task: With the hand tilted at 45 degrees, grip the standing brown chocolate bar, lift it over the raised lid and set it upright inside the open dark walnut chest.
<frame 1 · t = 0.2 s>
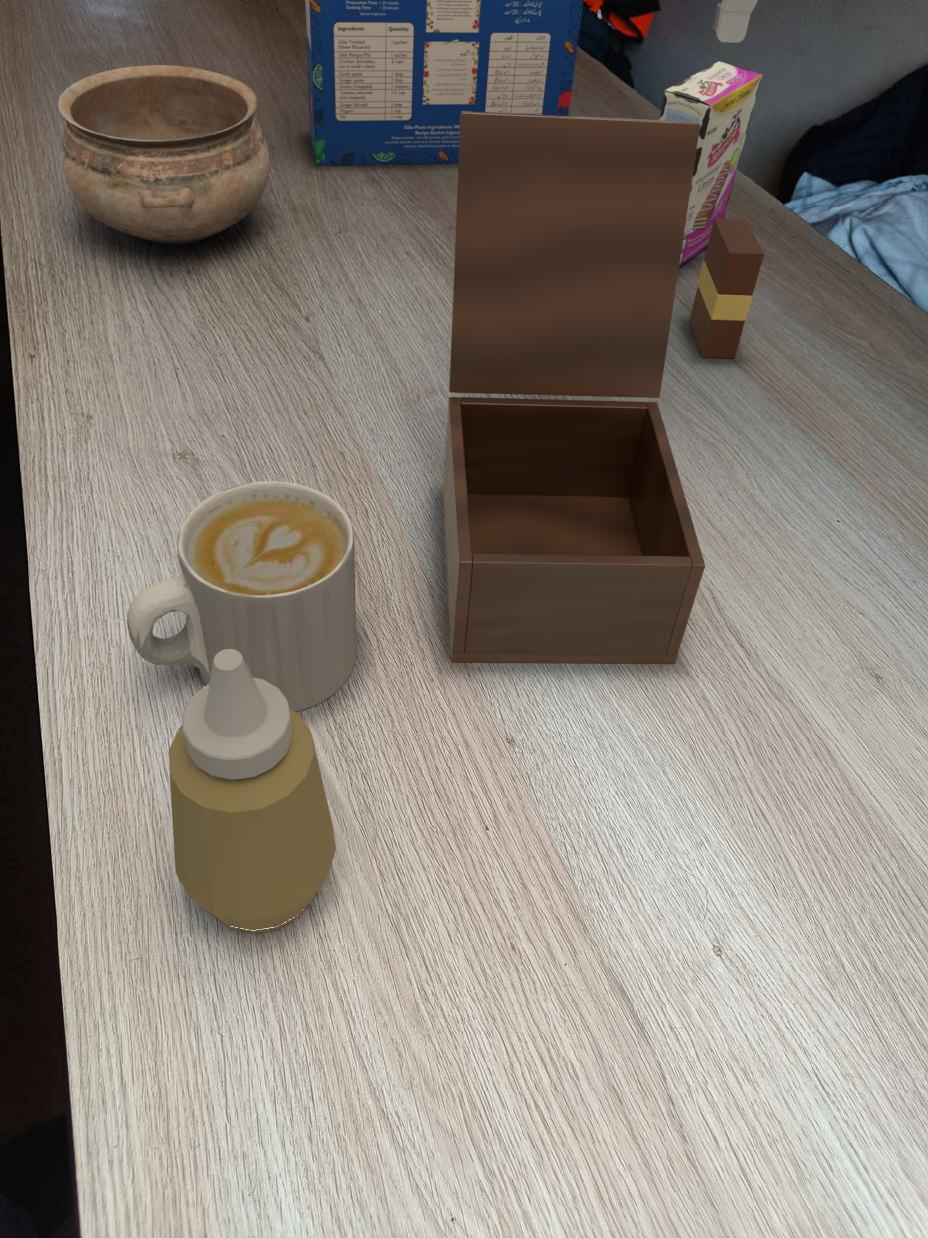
hand: (710, 12, 70), 29 cm above the worktop, tool pointing down, fingers open, 8 cm apart
candy bar box: (676, 251, 109), on the worktop
cooking pot: (177, 231, 105), on the worktop
squeeze bottle: (261, 885, 57), on the worktop
chest: (550, 573, 74), on the worktop
coffee mug: (250, 659, 67), on the worktop
chest lid: (562, 257, 71), point 17 cm above the worktop, hinge at 105.0°
chocolate bar: (711, 339, 97), on the worktop
pasta box: (436, 150, 122), on the worktop
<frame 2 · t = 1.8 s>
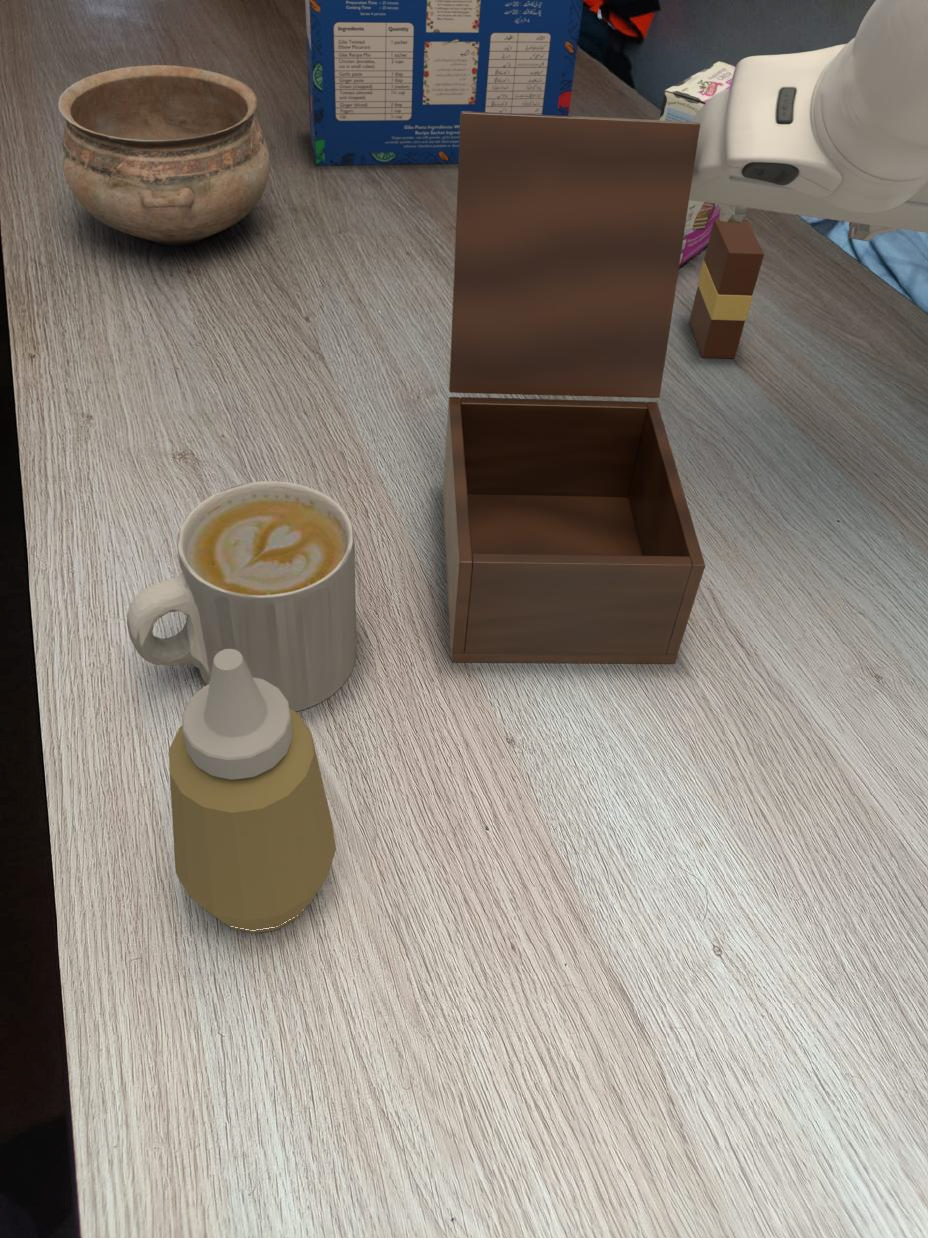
hand: (794, 221, 77), 17 cm above the worktop, tool tilted 40°, fingers open, 8 cm apart
nothing on the worktop moved.
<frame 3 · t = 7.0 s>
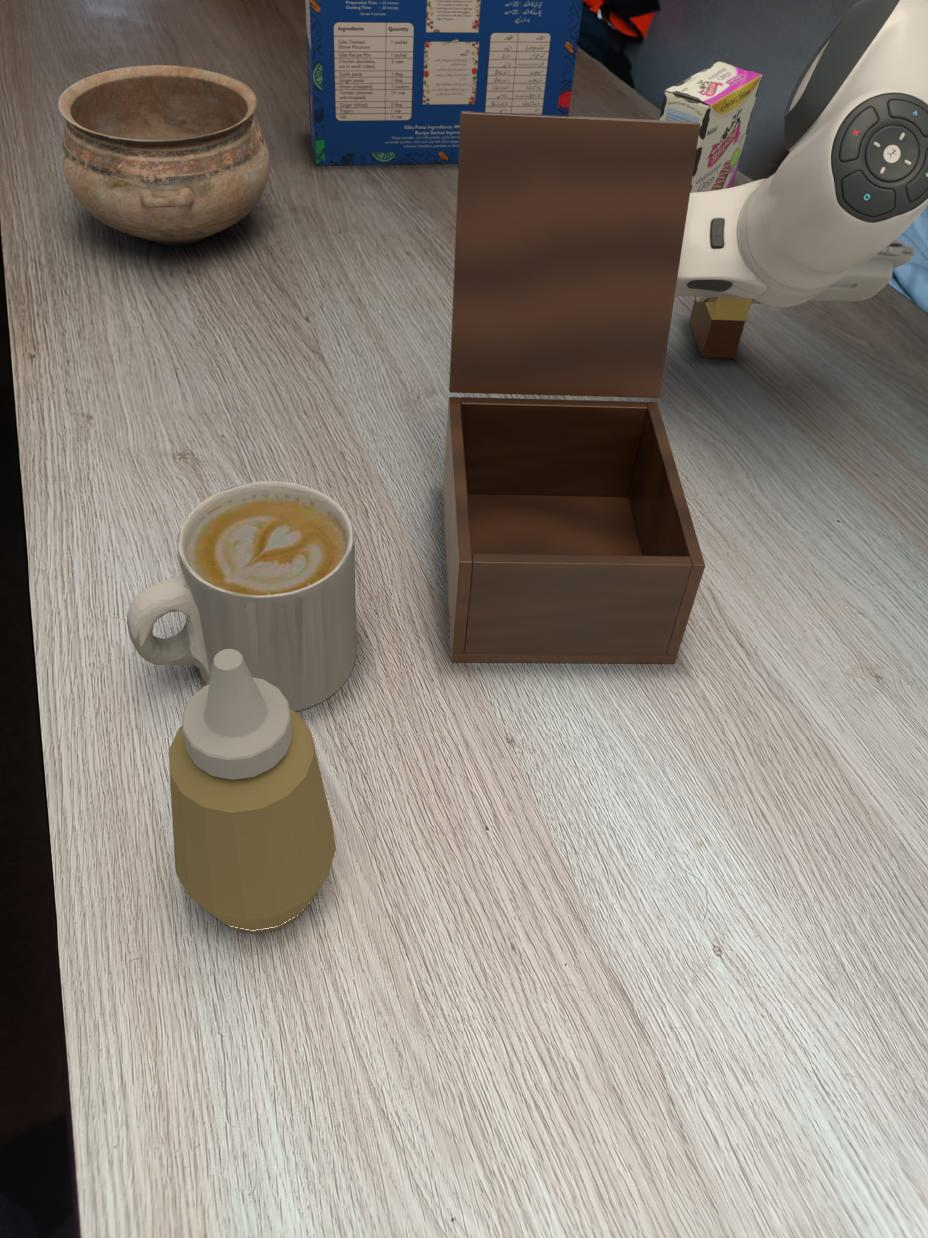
hand: (728, 293, 92), 5 cm above the worktop, tool tilted 45°, fingers closed on chocolate bar, 3 cm apart
chocolate bar: (711, 339, 97), on the worktop, touching gripper
everything else where it was.
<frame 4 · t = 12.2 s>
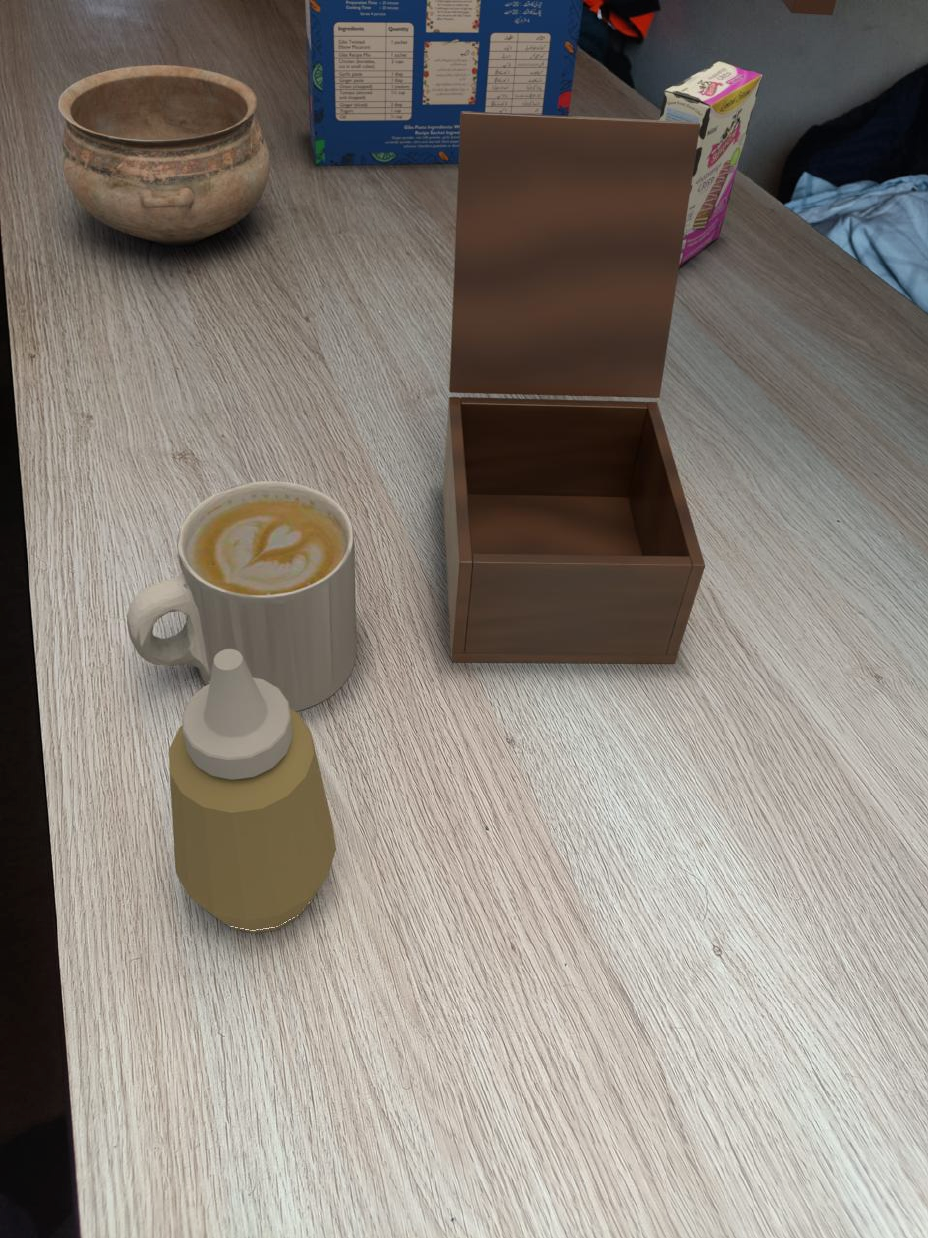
chocolate bar: (800, 0, 77), point 28 cm above the worktop, touching gripper
everything else where it was.
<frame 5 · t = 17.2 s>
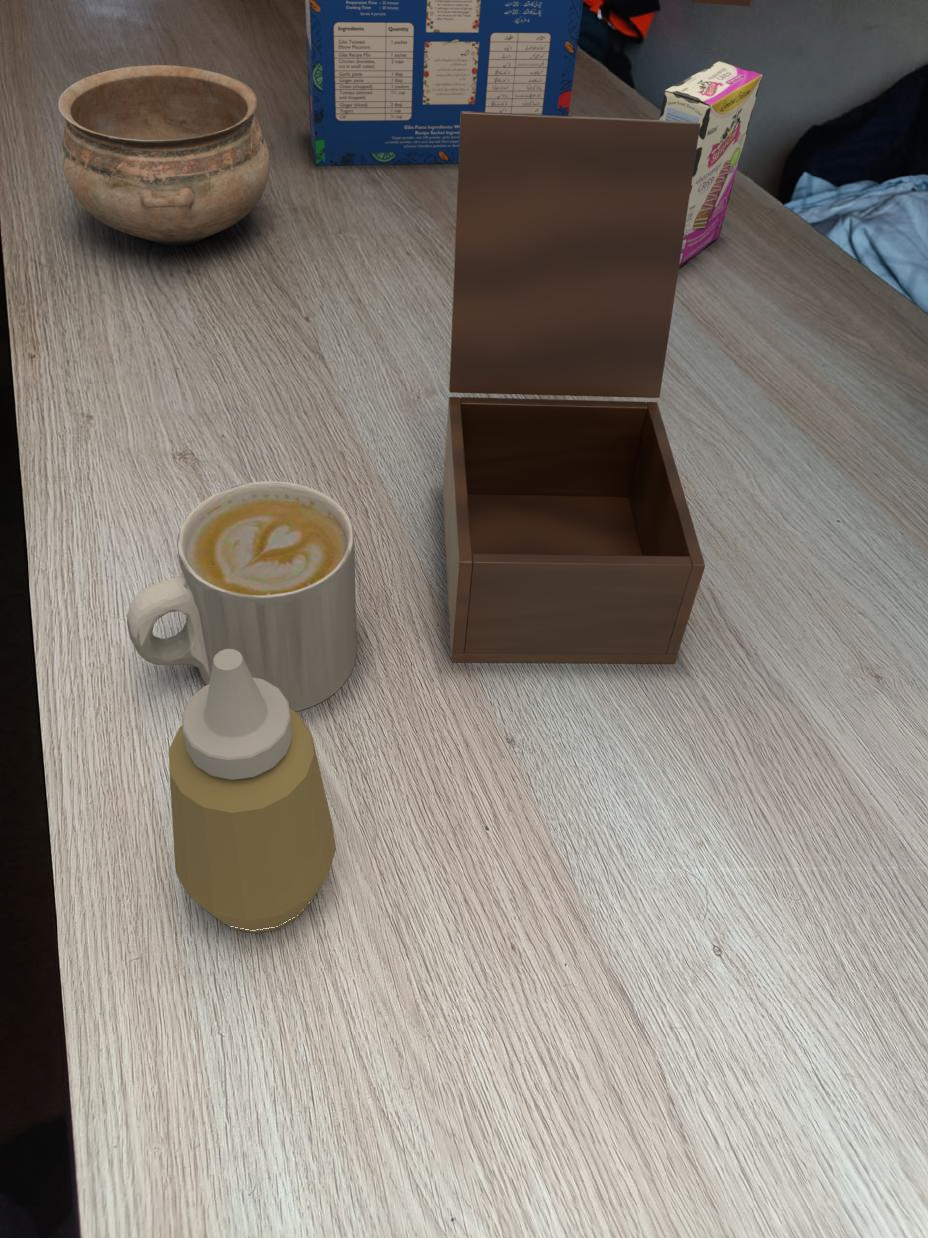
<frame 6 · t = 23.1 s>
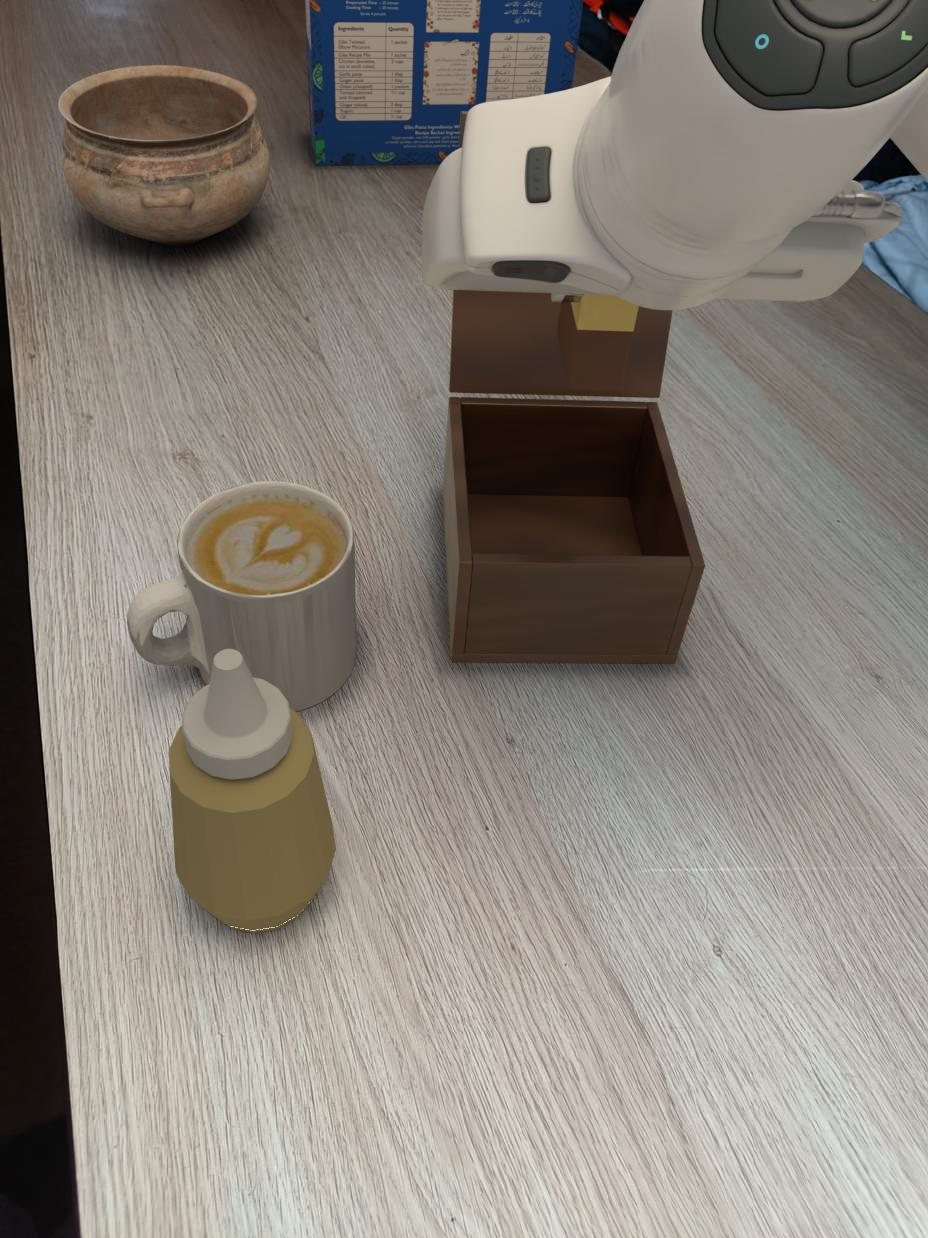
hand: (605, 288, 57), 23 cm above the worktop, tool tilted 45°, fingers closed on chocolate bar, 3 cm apart
chocolate bar: (587, 360, 62), point 17 cm above the worktop, touching gripper
everything else where it was.
when the fingers open (6 cm above the worktop, at t = 27.8 s): chocolate bar stays where it is, resting on chest.
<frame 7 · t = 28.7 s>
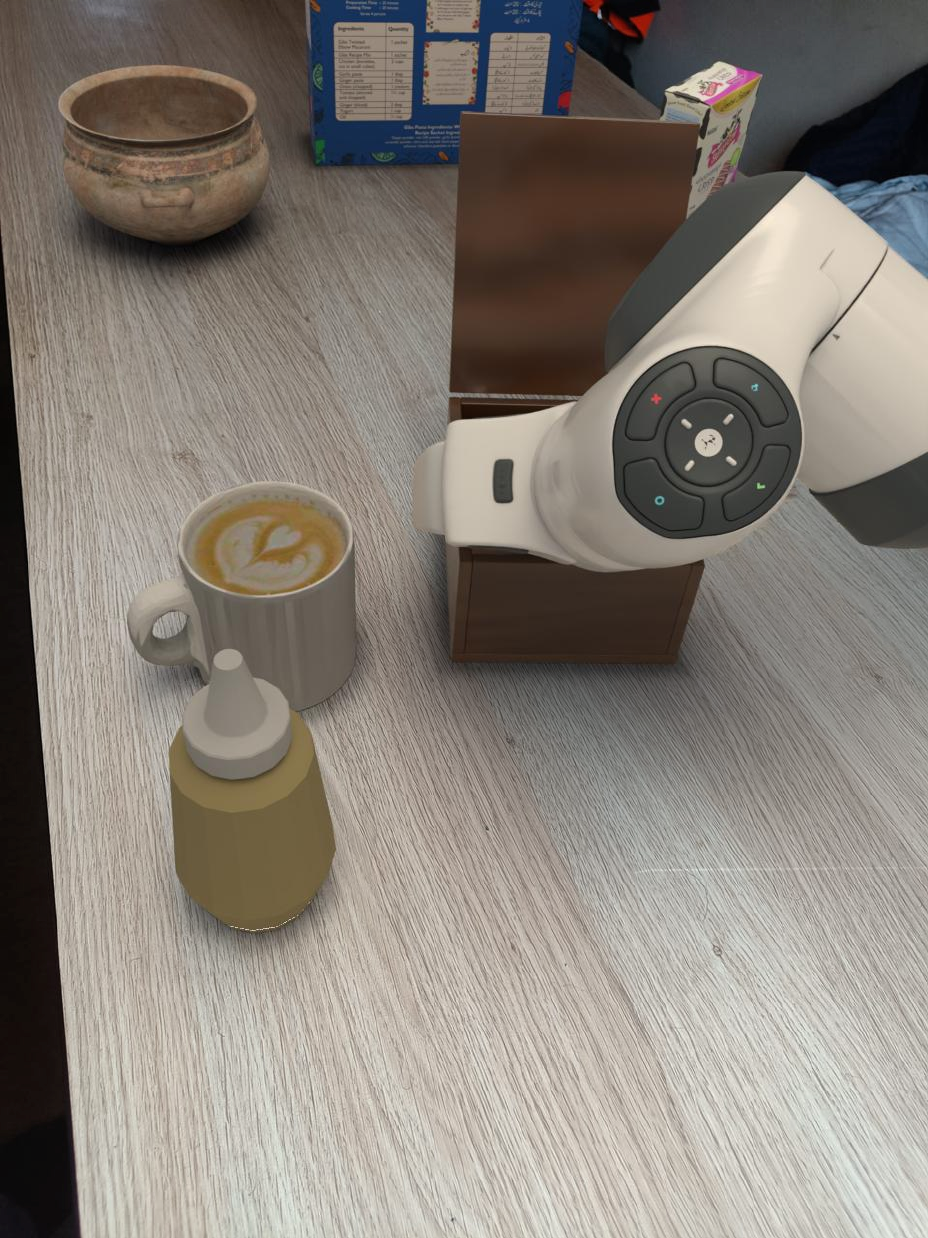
hand: (566, 507, 68), 7 cm above the worktop, tool tilted 45°, fingers open, 8 cm apart
chocolate bar: (552, 565, 74), point 1 cm above the worktop, touching chest
everything else where it was.
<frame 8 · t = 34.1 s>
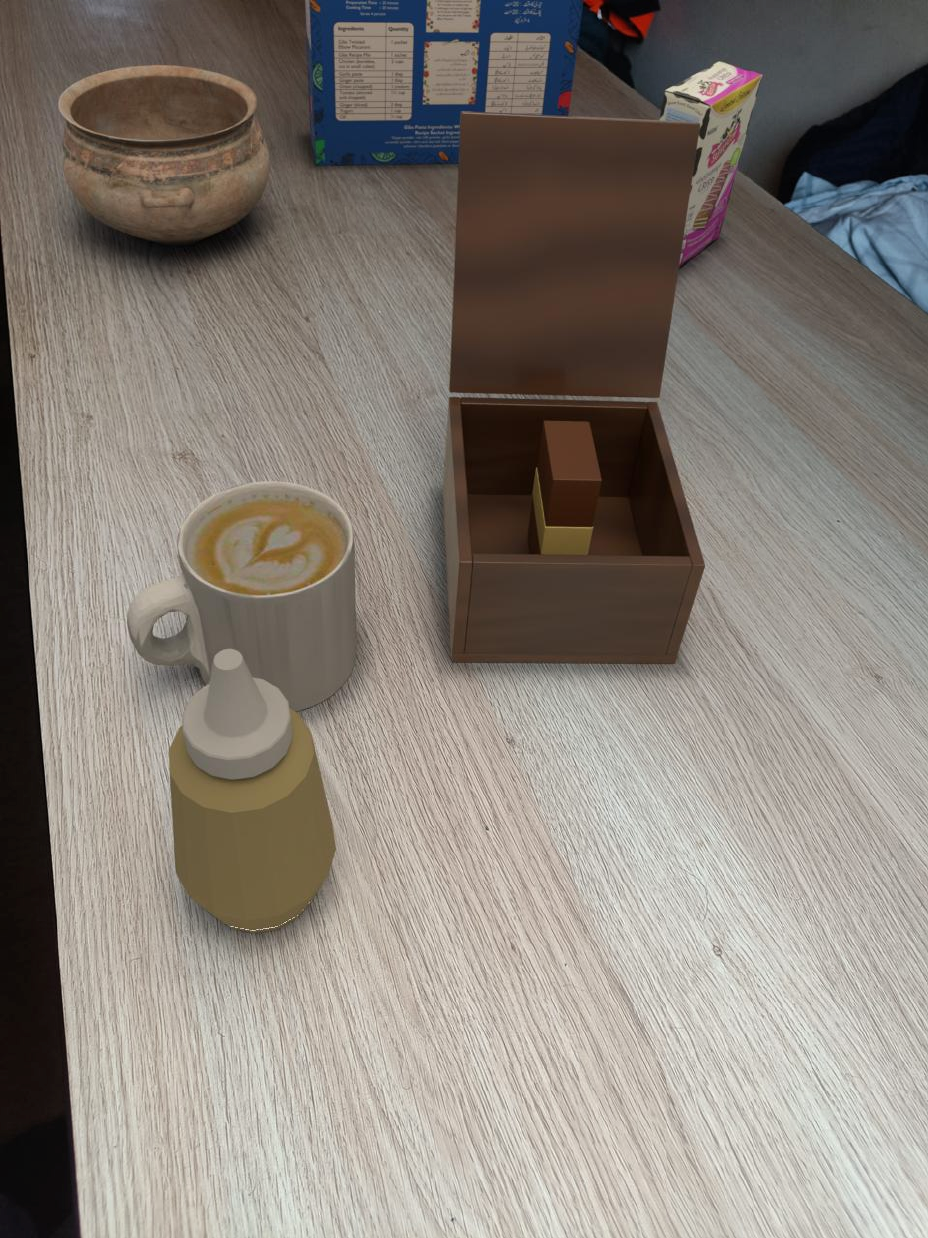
nothing on the worktop moved.
at the end: chocolate bar inside the target area in the chest (0.0 cm from its centre), point 0.8 cm above the chest's base; chocolate bar tilted 0°; chest lid at +105° (first picture: +105°) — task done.
